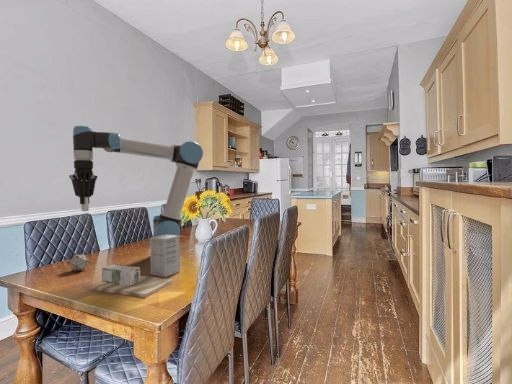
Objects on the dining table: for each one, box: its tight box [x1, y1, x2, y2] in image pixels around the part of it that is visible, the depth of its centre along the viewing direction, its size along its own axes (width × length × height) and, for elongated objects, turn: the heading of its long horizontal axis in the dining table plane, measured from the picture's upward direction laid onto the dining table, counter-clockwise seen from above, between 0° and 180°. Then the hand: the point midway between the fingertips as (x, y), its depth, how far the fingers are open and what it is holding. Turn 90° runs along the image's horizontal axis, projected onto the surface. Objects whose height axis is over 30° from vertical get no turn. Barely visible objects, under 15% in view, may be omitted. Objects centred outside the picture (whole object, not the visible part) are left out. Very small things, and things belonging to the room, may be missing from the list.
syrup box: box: [101, 263, 141, 286], centre depth 111 cm, size 6×6×14 cm
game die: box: [66, 252, 91, 273], centre depth 129 cm, size 9×8×10 cm
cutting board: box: [97, 275, 173, 299], centre depth 109 cm, size 22×16×1 cm
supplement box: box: [149, 234, 181, 278], centre depth 125 cm, size 10×9×17 cm
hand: (85, 211), depth 128 cm, fingers closed
